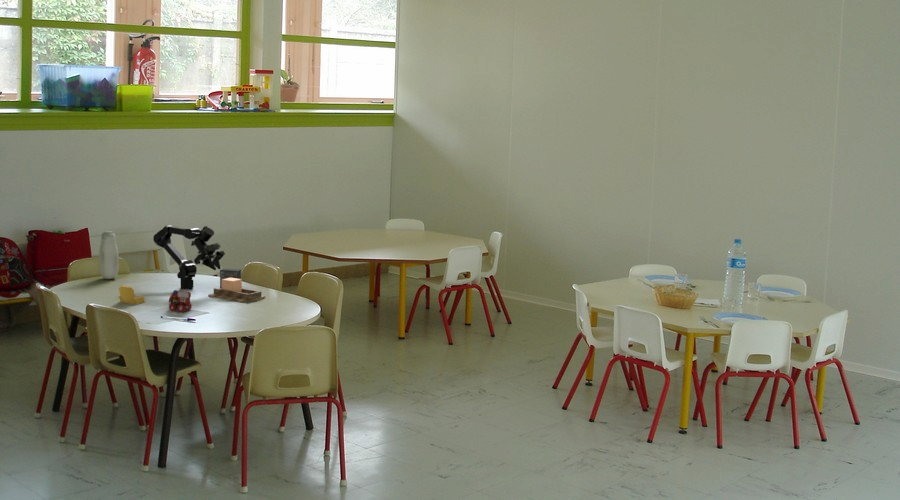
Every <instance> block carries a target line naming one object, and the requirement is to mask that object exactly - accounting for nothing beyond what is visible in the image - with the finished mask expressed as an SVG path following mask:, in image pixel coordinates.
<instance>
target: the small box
mask: <svg viewBox="0 0 900 500" xmlns="http://www.w3.org/2000/svg"><path fill="white" fill-rule="evenodd" d="M241 272H242V269H239V268H222V269H219V289H222V279H226V278H237V279H242V273H241Z"/></svg>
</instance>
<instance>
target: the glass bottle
mask: <svg viewBox="0 0 900 500" xmlns="http://www.w3.org/2000/svg"><path fill="white" fill-rule="evenodd" d="M98 251H99V252H98V257H99V259H98V260H99V261H98V262H99V273H100V275H101V277H102V278H103V279H105V280H112V279H113V280H114V279H115V278H116V277H117V275H118V274H119V268H120V267H119V249H118V245H117V242H116V234H115V233H114V231H112V230H105V231H103V232H102V233H101V236H100V245H99V250H98Z"/></svg>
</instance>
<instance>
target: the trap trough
mask: <svg viewBox="0 0 900 500" xmlns="http://www.w3.org/2000/svg"><path fill="white" fill-rule="evenodd" d="M207 296H208V297H209V298H214V297H215V298H216V299H221V300H227V301H231V302H232V301H233V302H239V303H244V304H246V303H250V302H254V301H259V300H263V299H266V296H265V295H262V291H260V290H254V289H248V288H244V287H243V288H242V293H240V292H235V291H229V290H223V289H222V288H216V287H215V288H213V293H210V294H209V293H208V294H207ZM215 298H214V299H215Z"/></svg>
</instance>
